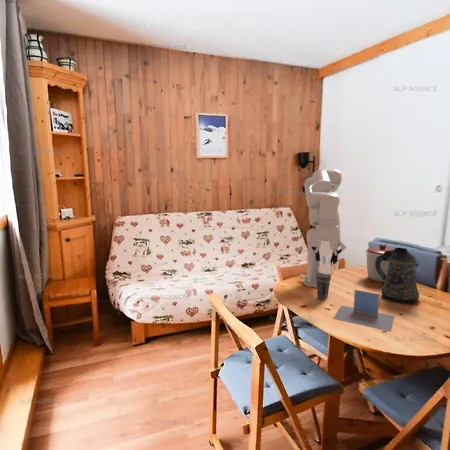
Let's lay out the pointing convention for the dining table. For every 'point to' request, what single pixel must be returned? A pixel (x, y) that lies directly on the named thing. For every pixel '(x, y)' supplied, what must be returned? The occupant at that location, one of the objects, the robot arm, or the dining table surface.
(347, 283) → the dining table surface
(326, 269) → the beer glass
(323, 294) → the beverage cup
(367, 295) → the tile
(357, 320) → the mat
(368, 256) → the canister
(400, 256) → the beer stein
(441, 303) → the dining table surface
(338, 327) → the dining table surface
